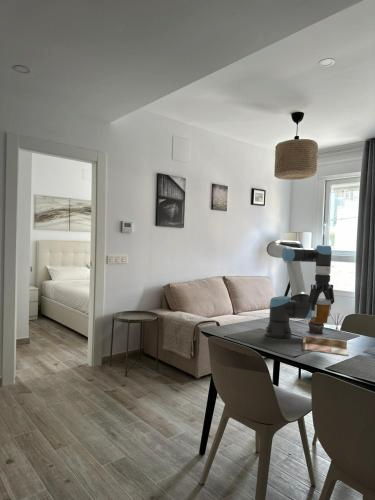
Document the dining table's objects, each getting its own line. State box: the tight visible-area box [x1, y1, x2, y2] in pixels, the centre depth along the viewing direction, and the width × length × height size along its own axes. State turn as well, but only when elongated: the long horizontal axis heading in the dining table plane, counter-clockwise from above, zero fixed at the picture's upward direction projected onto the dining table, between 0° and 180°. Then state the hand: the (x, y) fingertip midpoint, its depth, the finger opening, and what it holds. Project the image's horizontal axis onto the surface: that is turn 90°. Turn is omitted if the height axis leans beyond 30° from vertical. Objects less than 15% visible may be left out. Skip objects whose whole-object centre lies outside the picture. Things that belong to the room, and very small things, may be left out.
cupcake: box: [307, 317, 325, 334], centre depth 229 cm, size 10×10×10 cm
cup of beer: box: [314, 297, 332, 324], centre depth 189 cm, size 10×10×12 cm
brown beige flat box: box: [302, 335, 349, 357], centre depth 189 cm, size 22×15×4 cm
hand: (320, 316), depth 189 cm, fingers closed on cup of beer, 9 cm apart
